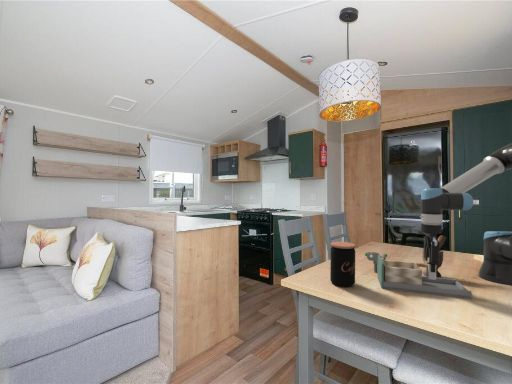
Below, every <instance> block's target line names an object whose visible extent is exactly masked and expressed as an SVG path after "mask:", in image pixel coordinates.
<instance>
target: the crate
mask: <svg viewBox="0 0 512 384" xmlns="http://www.w3.org/2000/svg"><path fill="white" fill-rule="evenodd" d="M382 261H383V263H384V281H386V282H395V283H404V284H413V285H422V276H423V270H422V269H421V268H426V267H427V277H428V264H424V263H421V262H419V263H418V262H412V261H411V262H410V261H399V260H387V259H386V260H382ZM428 263H429V258H428Z"/></svg>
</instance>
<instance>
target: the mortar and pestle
mask: <svg viewBox="0 0 512 384" xmlns="http://www.w3.org/2000/svg"><path fill="white" fill-rule="evenodd" d="M437 238H438V241H439V242H440V244H439V259H438V264H437V265H436V277H437V278H442V274H441V273H440V271H439V270H438V269H439V268H441V267H442V265H443V261H444V250H442V249H441V248H442V246H443V245H444V244H445V243H446V242H445V241H446V240H447V237H446V235H442V234H440V236H438V237H437ZM421 255H422V261H423V264H426V260H425V258H424V247H422V254H421ZM425 273H426V269H425V270H424V271H422V275H423V276H425Z"/></svg>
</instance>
